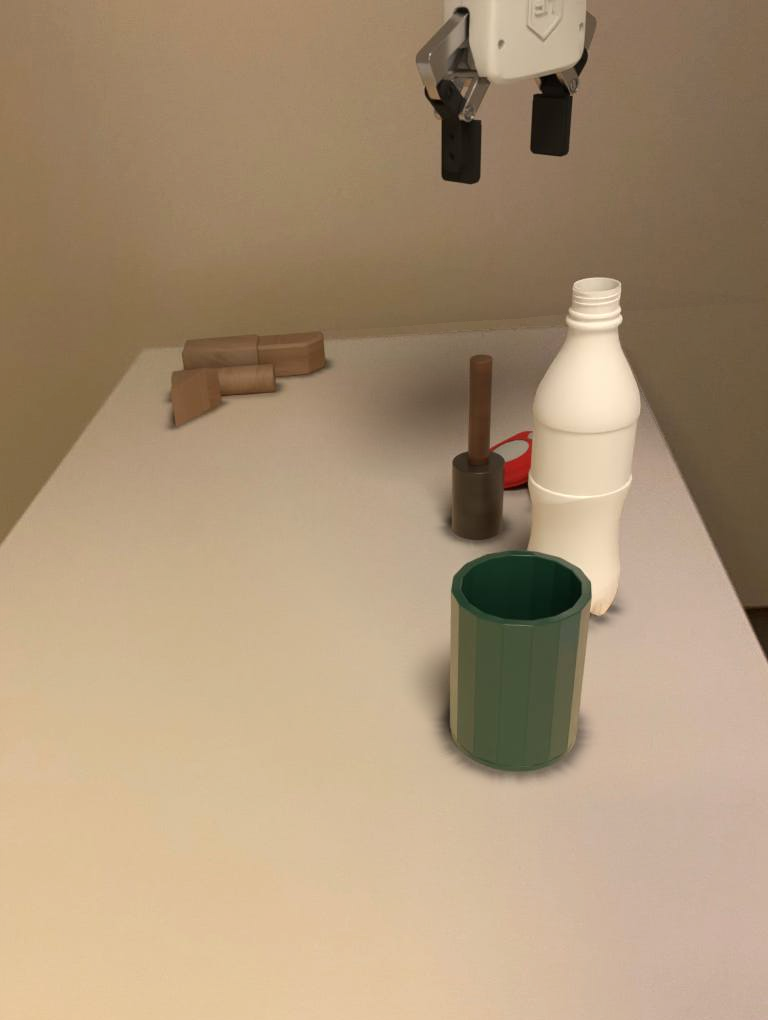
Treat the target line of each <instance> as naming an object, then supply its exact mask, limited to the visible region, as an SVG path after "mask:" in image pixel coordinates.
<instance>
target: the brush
mask: <svg viewBox="0 0 768 1020" xmlns="http://www.w3.org/2000/svg"><path fill="white" fill-rule="evenodd" d="M493 359H494V358H493V357H492V355H489V354H475V355H472V356H470V358H469V369H468V370H469V371H468V377H469V378H468V425H467V426H468V427H467V429H468V430H467V434H468V435H467V451H463V452H461V453H458V454H457V455H455V456H454V458H453V459H452V461H451V465H452V466H451V530H452V533H454V534H455V535H456V536H458V538H459V537H460V538H462V539H464V540H469V541H485V540H489V539H492V538H494V537H497V536H498V535H500V533H501V532H502V530H503V518H504V516H503V515H504V492H505V490H504V472H505V460H504V458H503V457H502V456H501V455H499V454H498V453H495V452H491V451H490V448H491V424H492V423H491V422H492V420H491V419H492V393H493V392H492V390H493V389H492V388H493V364H494V362H493Z"/></svg>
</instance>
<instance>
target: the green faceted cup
mask: <svg viewBox="0 0 768 1020" xmlns="http://www.w3.org/2000/svg"><path fill="white" fill-rule="evenodd" d="M591 600H592V589H591V581H590V580H589V579H588V578H587V576H586V575H585V574H584V573H583V571H582V570H581V569H580V568H579V567H577V566H575V565H573V564H571V563H570V562H568V561H566V560H564V559H562V558H560V557H557V556H553V555H549V554H545V553H541V552H536V551H527V550H515V549H513V550H511V549H509V550H504V551H503V550H502V551H498V552H492V553H486V554H483V555H481V556H479V557H477V558H475V559H472V560H470V561H468V562H466V563H465V564H463V566H462V567H461V568H460V569H458V571H457V572H456V573H454V575H453V576H452V582H451V588H450V643H449V644H450V652H449V653H450V654H449V655H450V656H449V658H450V659H449V661H450V663H449V667H450V668H449V729H450V735H451V738H452V740H453V742H454V744H455V746H456V747H457V748H458V749H459V751H461V752H462V753H463V755H465V756H466V757H468V758H469V759H471V760H472V761H474V762H476V763H477V764H480V765H482V766H484V767H487V768H491V769H494V770H498V771H503V772H513V773H515V772H517V773H520V772H521V773H522V772H532V771H537V770H541V769H545V768H548V767H550V766H552V765H554V764H557V763H559V762H560V761H561V760H563V759H564V758H565V757H566V756H567V755H569V753H570V752H571V751H572V749H573V747H574V745H575V742H576V739H577V735H578V726H579V720H580V719H579V718H580V708H581V701H582V690H583V681H584V671H585V663H586V654H587V644H588V638H589V637H588V635H589V625H590V619H591V613H590V609H591Z"/></svg>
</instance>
